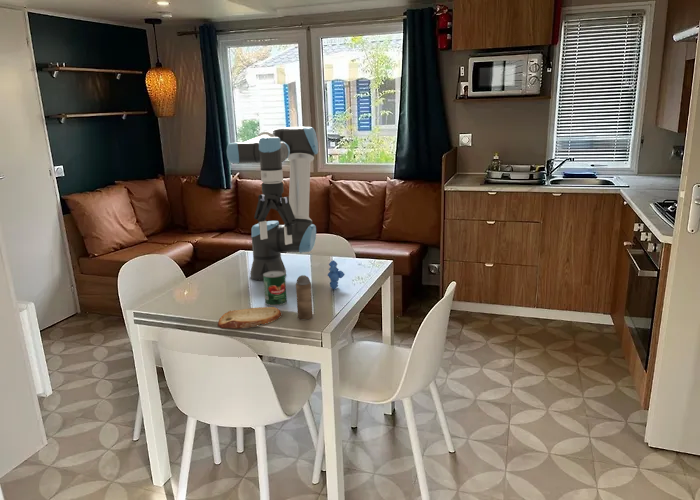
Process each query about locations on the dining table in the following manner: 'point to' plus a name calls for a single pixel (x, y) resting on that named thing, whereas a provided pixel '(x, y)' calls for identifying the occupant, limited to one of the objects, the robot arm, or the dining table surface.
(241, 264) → the dining table surface
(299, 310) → the walnut pepper mill
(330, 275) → the grapes
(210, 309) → the dining table surface
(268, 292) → the canned tomato
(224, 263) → the dining table surface
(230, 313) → the bread slice
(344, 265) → the dining table surface
